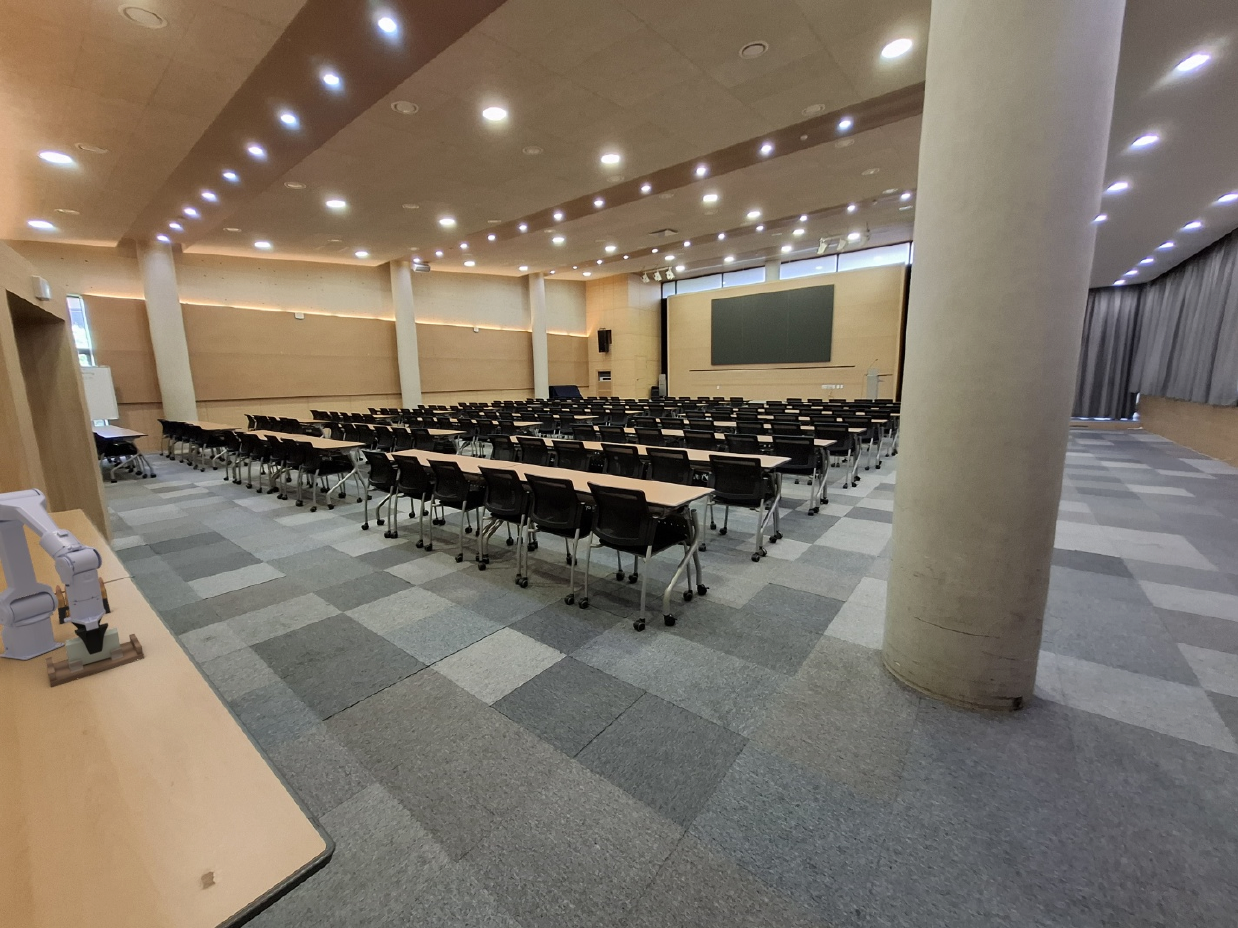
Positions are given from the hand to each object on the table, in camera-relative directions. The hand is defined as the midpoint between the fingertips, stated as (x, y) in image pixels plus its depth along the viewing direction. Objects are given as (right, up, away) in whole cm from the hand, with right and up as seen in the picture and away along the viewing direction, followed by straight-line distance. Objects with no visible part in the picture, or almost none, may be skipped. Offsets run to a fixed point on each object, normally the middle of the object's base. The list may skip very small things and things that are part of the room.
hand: (93, 647), depth 125 cm
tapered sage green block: (0, -3, 0) cm, 3 cm away
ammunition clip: (-31, -1, +27) cm, 41 cm away
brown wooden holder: (0, -4, +1) cm, 4 cm away
